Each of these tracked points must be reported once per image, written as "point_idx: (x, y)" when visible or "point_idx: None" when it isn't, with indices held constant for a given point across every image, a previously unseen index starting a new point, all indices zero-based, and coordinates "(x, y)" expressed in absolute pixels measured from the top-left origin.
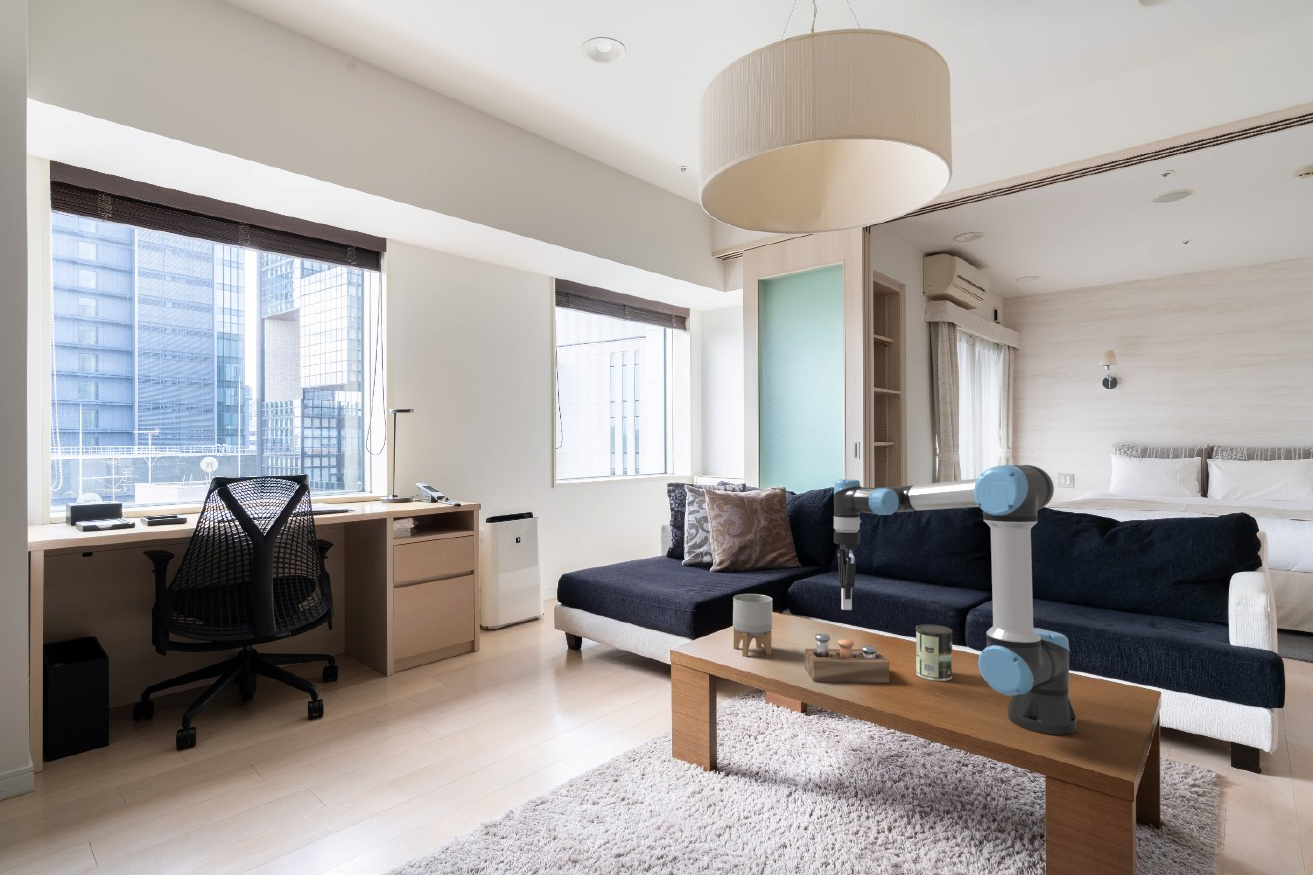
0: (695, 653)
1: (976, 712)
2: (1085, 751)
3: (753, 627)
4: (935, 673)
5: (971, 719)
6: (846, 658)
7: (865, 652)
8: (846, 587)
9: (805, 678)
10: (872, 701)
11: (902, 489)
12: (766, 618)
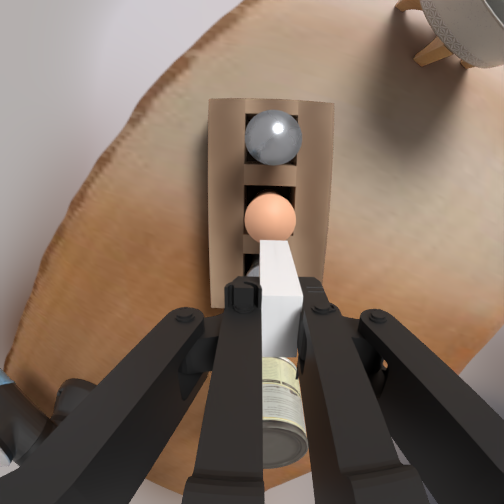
0: None
1: (99, 359)
2: (38, 391)
3: None
4: None
5: (73, 339)
6: (236, 203)
7: (252, 267)
8: (216, 317)
9: (241, 91)
10: (107, 212)
11: None
12: (454, 19)
